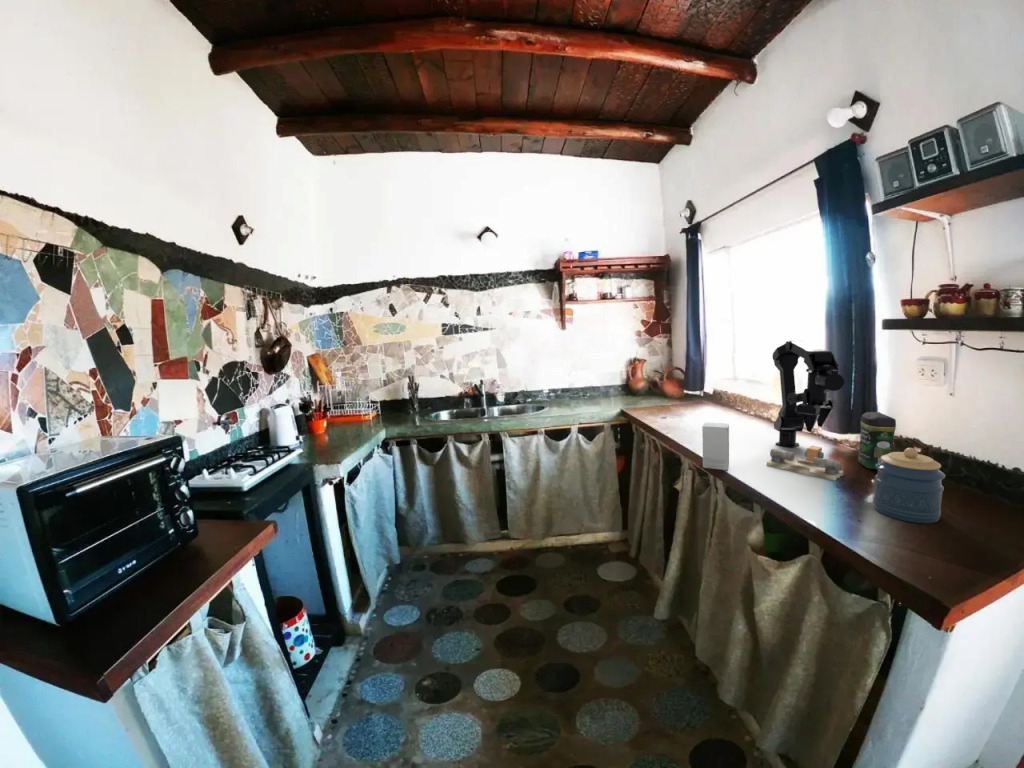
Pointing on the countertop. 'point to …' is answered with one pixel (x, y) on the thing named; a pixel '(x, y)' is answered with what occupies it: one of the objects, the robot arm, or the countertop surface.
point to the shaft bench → (806, 465)
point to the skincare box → (715, 445)
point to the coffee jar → (875, 438)
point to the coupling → (813, 453)
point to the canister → (909, 487)
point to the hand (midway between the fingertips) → (814, 429)
